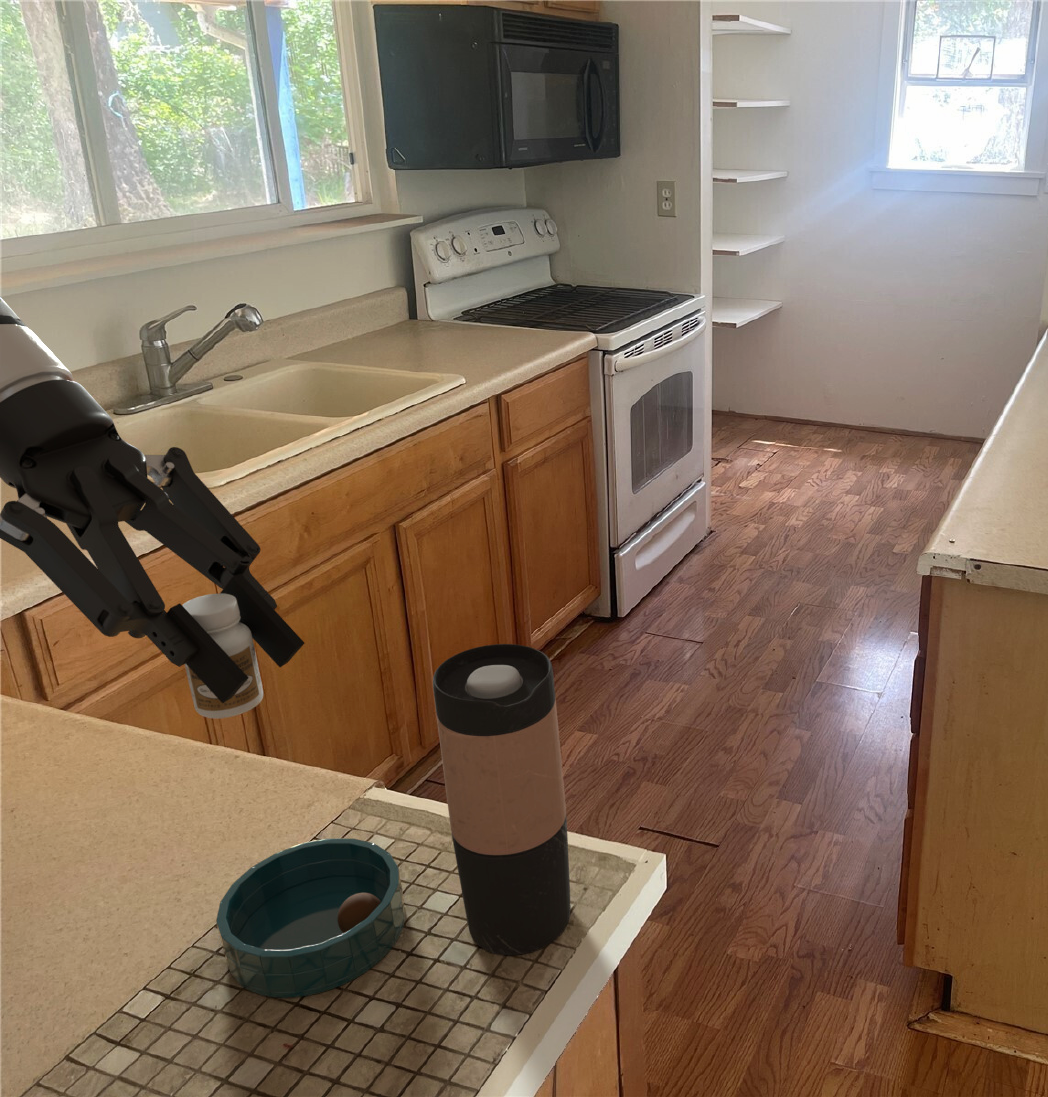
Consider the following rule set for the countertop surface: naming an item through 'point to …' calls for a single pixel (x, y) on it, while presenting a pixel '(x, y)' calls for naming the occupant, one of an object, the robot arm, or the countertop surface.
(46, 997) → the countertop surface
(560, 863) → the travel mug
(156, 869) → the countertop surface
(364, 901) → the brown ball
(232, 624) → the pill bottle
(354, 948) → the bowl
